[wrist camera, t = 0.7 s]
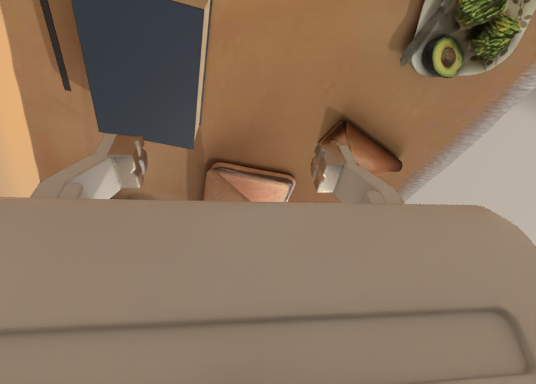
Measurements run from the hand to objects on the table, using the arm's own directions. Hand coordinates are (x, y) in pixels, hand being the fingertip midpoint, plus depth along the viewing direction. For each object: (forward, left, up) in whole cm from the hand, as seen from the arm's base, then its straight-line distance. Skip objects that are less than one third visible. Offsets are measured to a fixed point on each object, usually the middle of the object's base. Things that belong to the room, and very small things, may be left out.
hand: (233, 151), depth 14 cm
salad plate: (-2, +32, -39) cm, 50 cm away
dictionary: (+15, -14, -39) cm, 44 cm away
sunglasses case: (+25, +28, -39) cm, 54 cm away
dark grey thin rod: (+15, -30, -39) cm, 51 cm away
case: (+45, +7, -39) cm, 60 cm away
